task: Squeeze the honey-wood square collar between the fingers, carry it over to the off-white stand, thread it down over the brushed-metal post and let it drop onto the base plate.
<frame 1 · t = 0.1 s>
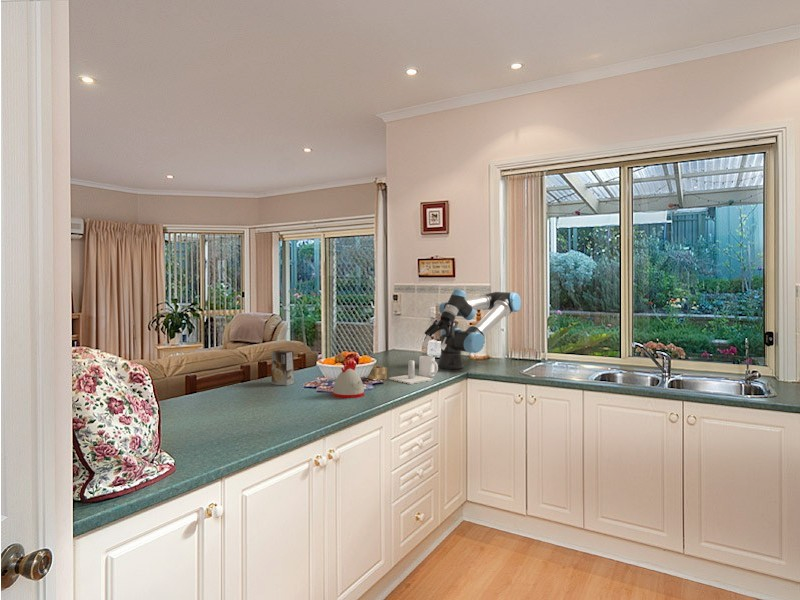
hand: (432, 347, 278), 15 cm above the countertop, tool tilted 35°, fingers open, 13 cm apart
post stand: (411, 380, 267), on the countertop
coffee box: (282, 384, 254), on the countertop
kitchen timer: (348, 395, 232), on the countertop
collar: (375, 378, 270), on the countertop
mug: (429, 377, 278), on the countertop
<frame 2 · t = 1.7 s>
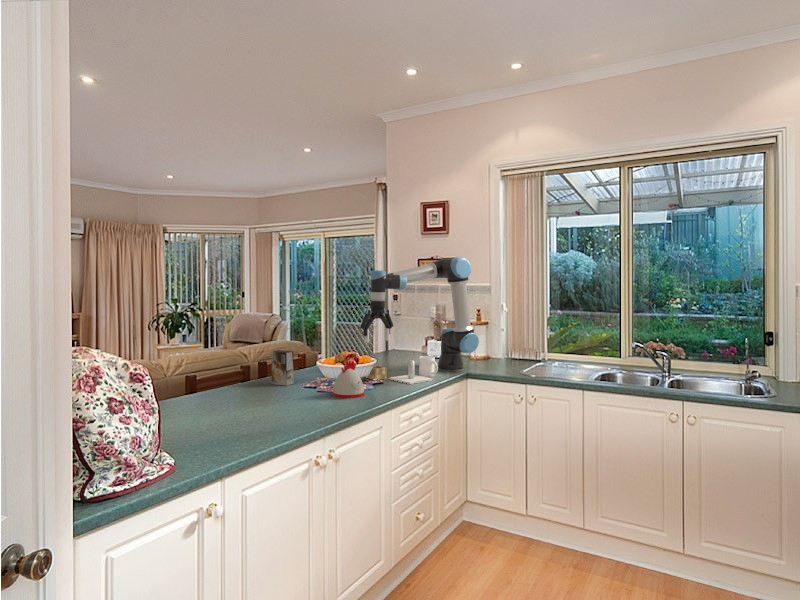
hand: (376, 341, 269), 19 cm above the countertop, tool pointing down, fingers open, 13 cm apart
nothing on the countertop moved.
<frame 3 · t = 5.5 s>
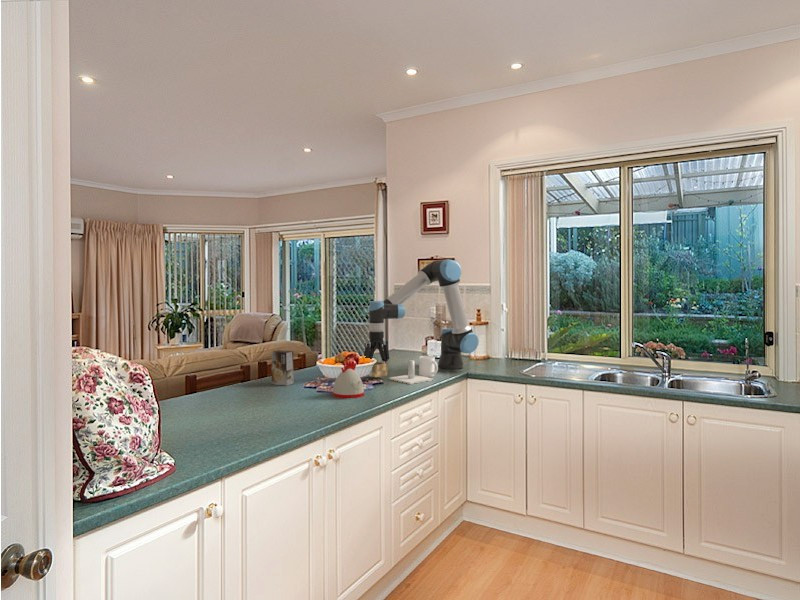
hand: (376, 374, 270), 2 cm above the countertop, tool pointing down, fingers closed on collar, 8 cm apart
collar: (376, 375, 270), point 2 cm above the countertop, touching gripper
everything else where it was.
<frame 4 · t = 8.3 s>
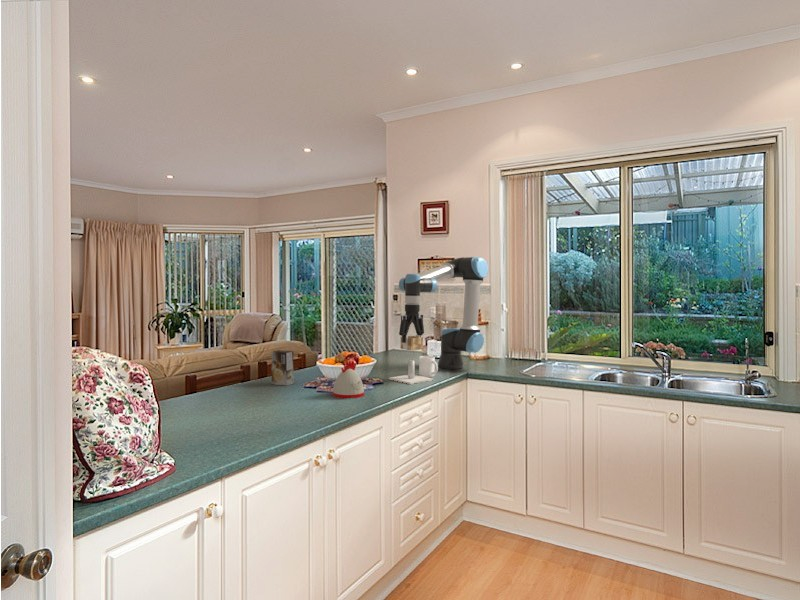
hand: (411, 348, 267), 16 cm above the countertop, tool pointing down, fingers closed on collar, 8 cm apart
collar: (411, 348, 267), point 16 cm above the countertop, touching gripper
everything else where it was.
when the fingers open (4 cm above the countertop, at t = 11.0 s): collar drops 2 cm, resting on post stand.
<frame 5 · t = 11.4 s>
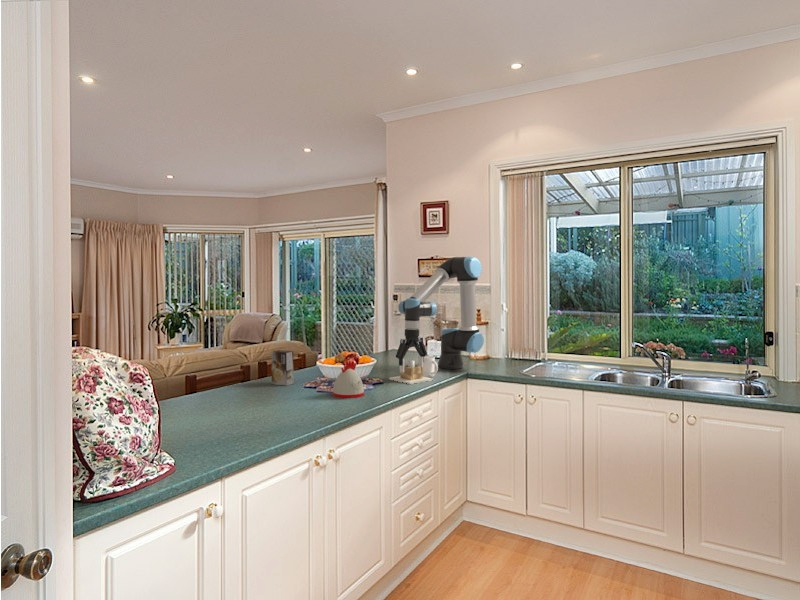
hand: (411, 370, 267), 5 cm above the countertop, tool pointing down, fingers open, 12 cm apart
collar: (411, 378, 267), point 1 cm above the countertop, touching post stand
everything else where it was.
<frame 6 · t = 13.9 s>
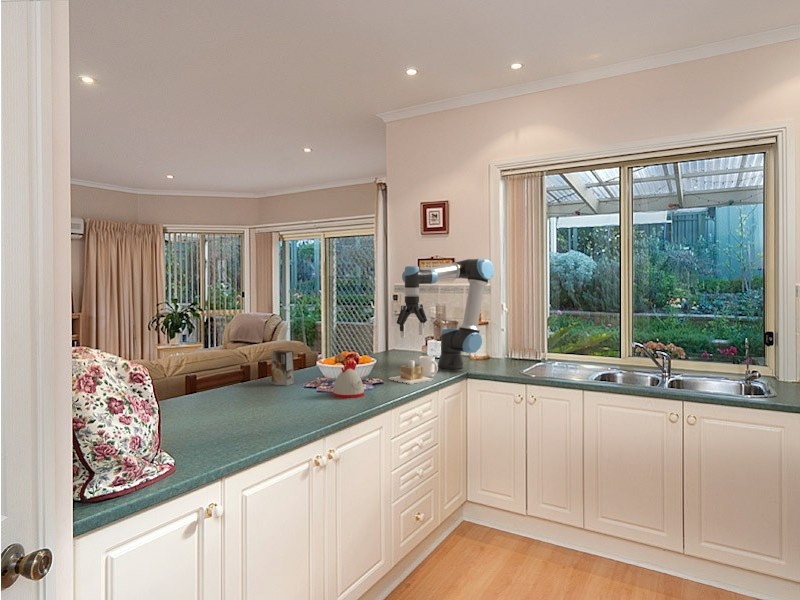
hand: (412, 336, 273), 22 cm above the countertop, tool pointing down, fingers open, 13 cm apart
nothing on the countertop moved.
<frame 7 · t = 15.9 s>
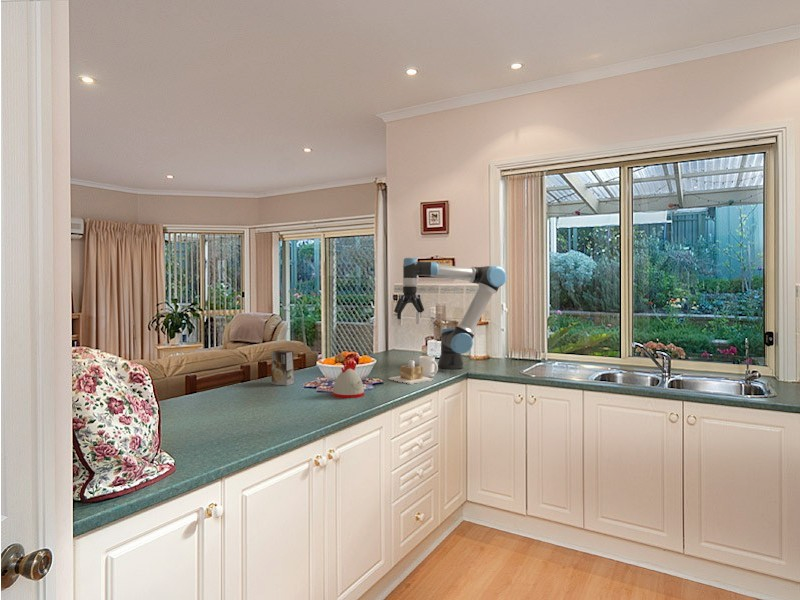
hand: (409, 324, 287), 27 cm above the countertop, tool pointing down, fingers open, 13 cm apart
nothing on the countertop moved.
at the end: collar 0.0 cm from the post stand (horizontally); collar point 1.0 cm above the countertop; the gripper is holding nothing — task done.
